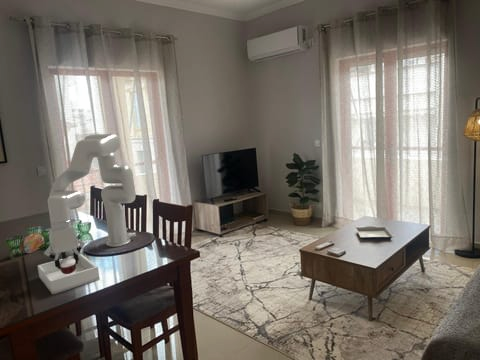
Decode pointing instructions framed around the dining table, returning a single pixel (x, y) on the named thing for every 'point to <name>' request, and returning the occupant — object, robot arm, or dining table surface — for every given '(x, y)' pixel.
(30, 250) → the tin
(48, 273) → the box
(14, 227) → the dining table surface
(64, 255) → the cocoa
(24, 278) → the dining table surface
